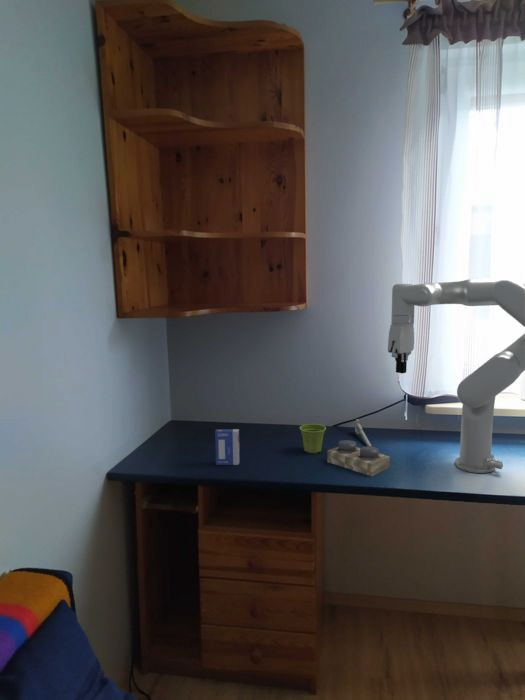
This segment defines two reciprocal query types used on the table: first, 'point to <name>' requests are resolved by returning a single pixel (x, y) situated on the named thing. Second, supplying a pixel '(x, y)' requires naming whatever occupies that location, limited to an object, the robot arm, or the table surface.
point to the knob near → (369, 453)
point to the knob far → (347, 446)
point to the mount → (358, 461)
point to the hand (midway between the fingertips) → (401, 372)
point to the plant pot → (312, 437)
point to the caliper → (361, 432)
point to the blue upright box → (227, 446)
